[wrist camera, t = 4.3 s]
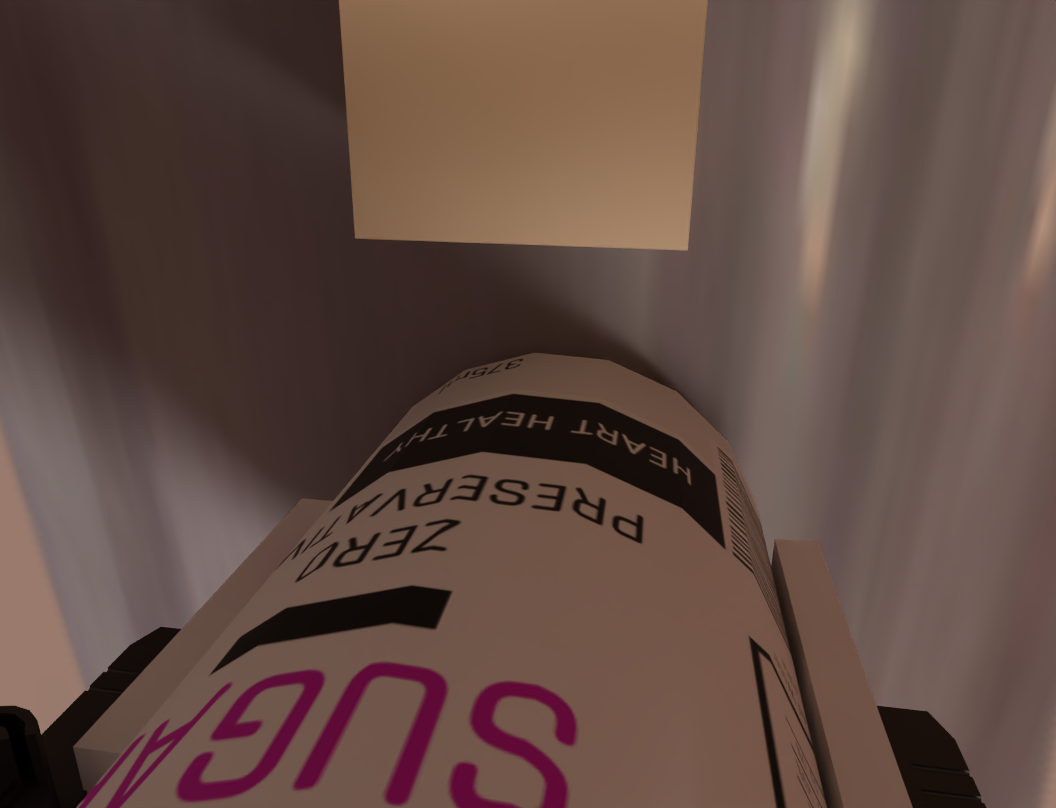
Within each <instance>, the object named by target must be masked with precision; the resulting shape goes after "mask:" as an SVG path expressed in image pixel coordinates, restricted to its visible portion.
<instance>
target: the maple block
mask: <svg viewBox="0 0 1056 808" xmlns="http://www.w3.org/2000/svg"><path fill="white" fill-rule="evenodd" d="M707 1H708V0H339V9H340V24H341V38H342V53H343V68H344V83H345V97H346V112H347V127H348V141H349V156H350V171H351V185H352V200H353V215H354V230H355V239H382V240H410V241H438V242H467V243H495V244H523V245H552V246H580V247H608V248H636V249H665V250H688V239H689V227H690V214H691V202H692V189H693V177H694V164H695V152H696V139H697V126H698V114H699V101H700V89H701V76H702V64H703V51H704V39H705V26H706V14H707Z"/></svg>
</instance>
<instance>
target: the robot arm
mask: <svg viewBox="0 0 1056 808" xmlns="http://www.w3.org/2000/svg"><path fill="white" fill-rule="evenodd" d="M332 502H333V501H328V500H316V499H304V498H302V499H301V500H300V501H299V502H298V503H297V504H296V505H295V507H294V508H293V509H292V510H291V511H290V512H289V513H288V514H287V515H286V516H285V517H284V519H283V520H282V521H281V522H280V523H279V524H278V525H277V526H276V527H275V528H274V529H273V530H272V532H271V533H270V534H269V535H268V536H267V537H266V538H265V539H264V540H263V541H262V542H261V543H260V545H259V546H258V547H257V548H256V549H255V550H254V551H253V552H252V553H251V554H250V555H249V557H248V558H247V559H246V560H245V561H244V562H243V563H242V564H241V565H240V566H239V567H238V568H237V570H236V571H235V572H234V573H233V574H232V575H231V576H230V577H229V578H228V579H227V580H226V581H225V583H224V584H223V585H222V586H221V587H220V588H219V589H218V590H217V591H216V592H215V593H214V594H213V596H212V597H211V598H210V599H209V600H208V601H207V602H206V603H205V604H204V605H203V606H202V608H201V609H200V610H199V611H198V612H197V613H196V614H195V615H194V616H193V617H192V618H191V619H190V621H189V622H188V623H187V624H186V625H185V626H184V627H183V628H182V629H176V628H167V627H160V628H158V629H156V630H155V631H153V632H151V633H150V634H148V635H146V636H145V637H143V638H141V639H140V640H138V641H136V642H135V643H133V644H131V645H130V646H129V647H128V648H127V649H126V650H125V651H124V652H123V653H122V654H121V655H120V656H119V657H118V658H117V659H116V660H115V661H114V662H113V663H112V664H111V665H110V666H109V667H108V671H107V672H103V673H102V674H101V675H100V676H99V677H98V678H97V679H96V680H95V681H94V682H93V683H92V684H91V685H90V689H89V691H84V692H83V693H82V694H81V695H80V696H79V698H77V700H75V701H74V702H73V704H71V705H70V706H69V708H67V709H66V710H65V712H63V714H62V715H61V716H60V717H59V718H58V719H57V720H56V721H55V722H54V723H53V724H52V725H51V726H50V727H49V728H48V729H47V730H46V731H45V732H44V733H43V734H42V735H41V733H40V729H39V725H38V722H37V720H36V718H35V717H34V715H33V714H32V713H31V712H30V711H29V710H27V709H23V708H20V707H17V706H0V808H76V807H77V806H78V805H79V804H80V803H81V801H82V800H83V799H84V798H85V797H86V795H87V794H88V793H89V792H90V791H91V789H92V788H93V787H94V786H95V785H96V783H97V782H98V781H99V780H100V779H101V777H102V776H103V775H104V774H105V773H106V771H107V770H108V769H109V768H110V767H111V766H112V764H113V763H114V762H115V761H116V760H117V758H118V757H119V756H120V755H121V754H122V752H123V751H124V750H125V749H126V748H127V746H128V745H129V744H130V743H131V742H132V740H133V739H134V738H135V737H136V736H137V735H138V733H139V732H140V731H141V730H142V729H143V727H144V726H145V725H146V724H147V723H148V721H149V720H150V719H151V718H152V717H153V715H154V714H155V713H156V712H157V711H158V709H159V708H160V707H161V706H162V705H163V703H164V702H165V701H166V700H167V699H168V698H169V696H170V695H171V694H172V693H173V692H174V690H175V689H176V688H177V687H178V686H179V684H180V683H181V682H182V681H183V680H184V678H185V677H186V676H187V675H188V674H189V672H190V671H191V670H192V669H193V668H194V666H195V665H196V664H197V663H198V662H199V661H200V659H201V658H202V657H203V656H204V655H205V653H206V652H207V651H208V650H209V649H210V647H211V646H212V645H213V644H214V643H215V641H216V640H217V639H218V638H219V637H220V635H221V634H222V633H223V632H224V631H225V629H226V628H227V627H228V626H229V625H230V624H231V622H232V621H233V620H234V619H235V618H236V616H237V615H238V614H239V613H240V612H241V610H242V609H243V608H244V607H245V606H246V604H247V603H248V602H249V601H250V600H251V598H252V597H253V596H254V595H255V594H256V593H257V591H258V590H259V589H260V588H261V587H262V585H263V584H264V583H265V582H266V581H267V579H268V578H269V577H270V576H271V575H272V573H273V572H274V571H275V570H276V569H277V567H278V566H279V565H280V564H281V563H282V561H283V560H284V559H285V558H286V557H287V556H288V554H289V553H290V552H291V551H292V550H293V548H294V547H295V546H296V545H297V544H298V542H299V541H300V540H301V539H302V538H303V536H304V535H305V534H306V533H307V532H308V530H309V529H310V528H311V527H312V526H313V524H314V523H315V522H316V521H317V520H318V519H319V517H320V516H321V515H322V514H323V513H324V511H325V510H326V509H327V508H328V507H329V505H330V504H331V503H332ZM771 569H772V574H773V578H774V582H775V587H776V591H777V595H778V600H779V604H780V608H781V612H782V617H783V621H784V625H785V630H786V634H787V638H788V642H789V647H790V651H791V655H792V660H793V664H794V668H795V673H796V677H797V681H798V685H799V690H800V694H801V698H802V703H803V707H804V711H805V716H806V720H807V724H808V728H809V733H810V737H811V741H812V746H813V750H814V754H815V758H816V763H817V767H818V771H819V776H820V780H821V784H822V789H823V793H824V797H825V801H826V806H827V808H986V806H985V804H984V803H982V802H981V795H980V793H979V791H978V789H977V786H976V784H975V782H974V780H973V778H972V777H970V775H969V769H968V767H967V765H966V762H965V760H964V758H963V756H962V754H961V752H960V749H959V747H958V745H957V743H956V741H955V739H954V738H953V737H952V736H951V735H950V734H949V733H948V732H947V731H946V730H945V729H944V728H943V727H942V726H941V725H940V724H939V723H938V722H937V721H936V720H935V719H934V718H933V717H932V716H931V714H930V713H929V712H927V711H918V710H909V709H901V708H892V707H883V706H876V703H875V700H874V697H873V694H872V692H871V689H870V686H869V683H868V680H867V677H866V675H865V672H864V669H863V666H862V663H861V661H860V658H859V655H858V652H857V649H856V646H855V644H854V641H853V638H852V635H851V632H850V630H849V627H848V624H847V621H846V618H845V615H844V613H843V610H842V607H841V604H840V601H839V599H838V596H837V593H836V590H835V587H834V584H833V582H832V579H831V576H830V573H829V570H828V568H827V565H826V562H825V559H824V556H823V553H822V551H821V548H820V545H819V543H817V542H805V541H794V540H782V539H775V543H774V550H773V558H772V565H771Z"/></svg>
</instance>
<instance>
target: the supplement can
mask: <svg viewBox="0 0 1056 808" xmlns="http://www.w3.org/2000/svg"><path fill="white" fill-rule="evenodd" d="M76 808H827V806H826V801H825V797H824V793H823V789H822V784H821V780H820V776H819V771H818V767H817V763H816V758H815V754H814V750H813V746H812V741H811V737H810V733H809V728H808V724H807V720H806V716H805V711H804V707H803V703H802V698H801V694H800V690H799V685H798V681H797V677H796V673H795V668H794V664H793V660H792V655H791V651H790V647H789V642H788V638H787V634H786V630H785V625H784V621H783V617H782V612H781V608H780V604H779V600H778V595H777V591H776V587H775V582H774V578H773V574H772V569H771V565H770V561H769V557H768V552H767V548H766V544H765V539H764V535H763V531H762V526H761V522H760V518H759V514H758V509H757V505H756V502H755V500H754V498H753V495H752V493H751V491H750V489H749V487H748V484H747V482H746V480H745V478H744V476H743V473H742V471H741V469H740V467H739V465H738V462H737V460H736V458H735V456H734V454H733V451H732V449H731V447H730V445H729V442H728V441H727V440H726V439H725V438H724V437H723V436H722V435H721V434H720V433H719V432H718V431H717V430H715V429H714V428H713V427H712V426H711V425H710V424H709V423H708V422H707V421H706V420H705V419H704V418H703V417H702V416H701V415H700V414H699V413H698V412H697V411H696V410H695V409H694V408H693V407H692V406H691V405H690V404H689V403H688V402H687V401H686V400H685V399H684V398H683V397H682V396H681V395H680V394H679V393H678V392H677V391H675V390H672V389H670V388H668V387H666V386H664V385H662V384H659V383H657V382H655V381H653V380H651V379H649V378H646V377H644V376H642V375H640V374H638V373H636V372H633V371H631V370H629V369H627V368H625V367H623V366H620V365H618V364H616V363H614V362H612V361H610V360H604V359H594V358H583V357H573V356H563V355H553V354H543V353H531V354H527V355H523V356H519V357H515V358H511V359H507V360H503V361H499V362H494V363H490V364H486V365H482V366H478V367H474V368H470V369H466V370H464V371H463V372H462V373H460V374H459V375H457V376H456V377H454V378H453V379H452V380H450V381H449V382H447V383H446V384H444V385H443V386H441V387H440V388H439V389H437V390H436V391H434V392H433V393H431V394H430V395H429V396H427V397H426V398H424V399H423V400H421V401H420V402H418V403H417V404H416V405H414V406H413V407H412V408H411V409H410V410H409V411H408V412H407V414H406V415H405V416H404V417H403V418H402V419H401V421H400V422H399V423H398V424H397V425H396V427H395V428H394V429H393V430H392V431H391V433H390V434H389V435H388V436H387V437H386V439H385V440H384V441H383V442H382V443H381V445H380V446H379V447H378V448H377V449H376V451H375V452H374V453H373V454H372V455H371V456H370V458H369V459H368V460H367V461H366V462H365V464H364V465H363V466H362V467H361V468H360V470H359V471H358V472H357V473H356V474H355V476H354V477H353V478H352V479H351V480H350V482H349V483H348V484H347V485H346V486H345V487H344V489H343V490H342V491H341V492H340V493H339V495H338V496H337V497H336V498H335V499H334V501H333V502H332V503H331V504H330V505H329V507H328V508H327V509H326V510H325V511H324V513H323V514H322V515H321V516H320V517H319V519H318V520H317V521H316V522H315V523H314V524H313V526H312V527H311V528H310V529H309V530H308V532H307V533H306V534H305V535H304V536H303V538H302V539H301V540H300V541H299V542H298V544H297V545H296V546H295V547H294V548H293V550H292V551H291V552H290V553H289V554H288V556H287V557H286V558H285V559H284V560H283V561H282V563H281V564H280V565H279V566H278V567H277V569H276V570H275V571H274V572H273V573H272V575H271V576H270V577H269V578H268V579H267V581H266V582H265V583H264V584H263V585H262V587H261V588H260V589H259V590H258V591H257V593H256V594H255V595H254V596H253V597H252V598H251V600H250V601H249V602H248V603H247V604H246V606H245V607H244V608H243V609H242V610H241V612H240V613H239V614H238V615H237V616H236V618H235V619H234V620H233V621H232V622H231V624H230V625H229V626H228V627H227V628H226V629H225V631H224V632H223V633H222V634H221V635H220V637H219V638H218V639H217V640H216V641H215V643H214V644H213V645H212V646H211V647H210V649H209V650H208V651H207V652H206V653H205V655H204V656H203V657H202V658H201V659H200V661H199V662H198V663H197V664H196V665H195V666H194V668H193V669H192V670H191V671H190V672H189V674H188V675H187V676H186V677H185V678H184V680H183V681H182V682H181V683H180V684H179V686H178V687H177V688H176V689H175V690H174V692H173V693H172V694H171V695H170V696H169V698H168V699H167V700H166V701H165V702H164V703H163V705H162V706H161V707H160V708H159V709H158V711H157V712H156V713H155V714H154V715H153V717H152V718H151V719H150V720H149V721H148V723H147V724H146V725H145V726H144V727H143V729H142V730H141V731H140V732H139V733H138V735H137V736H136V737H135V738H134V739H133V740H132V742H131V743H130V744H129V745H128V746H127V748H126V749H125V750H124V751H123V752H122V754H121V755H120V756H119V757H118V758H117V760H116V761H115V762H114V763H113V764H112V766H111V767H110V768H109V769H108V770H107V771H106V773H105V774H104V775H103V776H102V777H101V779H100V780H99V781H98V782H97V783H96V785H95V786H94V787H93V788H92V789H91V791H90V792H89V793H88V794H87V795H86V797H85V798H84V799H83V800H82V801H81V803H80V804H79V805H78V806H77V807H76Z"/></svg>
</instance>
